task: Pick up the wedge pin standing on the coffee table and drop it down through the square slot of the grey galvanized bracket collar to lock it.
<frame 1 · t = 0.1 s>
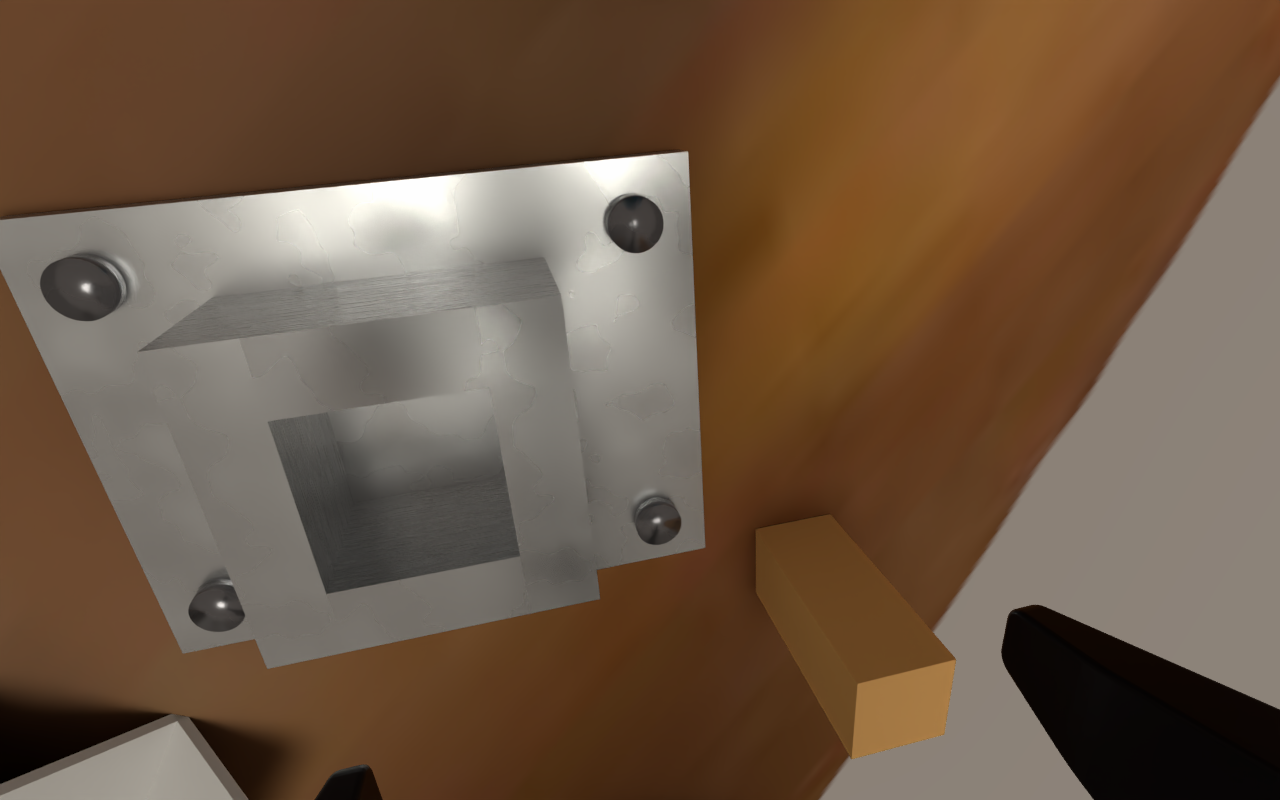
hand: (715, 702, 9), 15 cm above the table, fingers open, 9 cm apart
wedge pin: (792, 553, 28), on the table
bracket collar: (420, 406, 22), on the table
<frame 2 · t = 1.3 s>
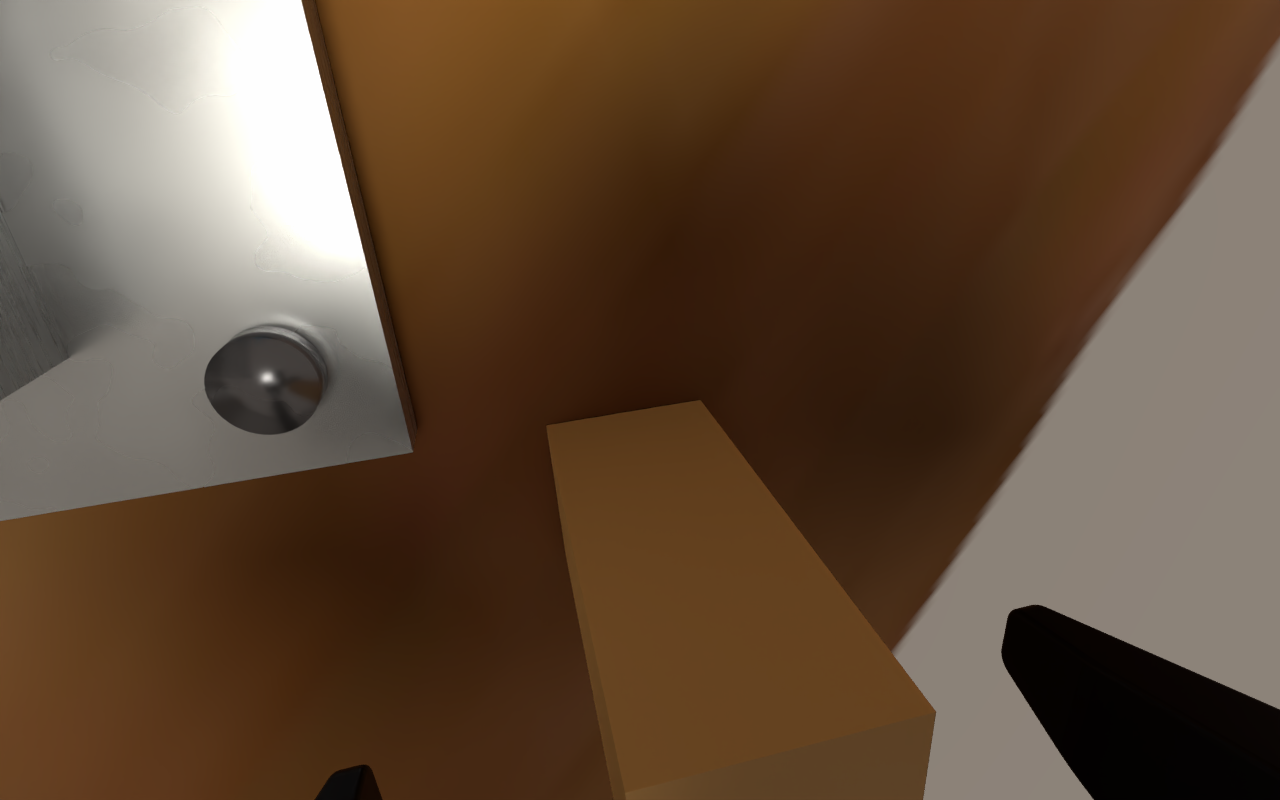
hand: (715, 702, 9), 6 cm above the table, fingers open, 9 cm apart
wedge pin: (631, 479, 14), on the table
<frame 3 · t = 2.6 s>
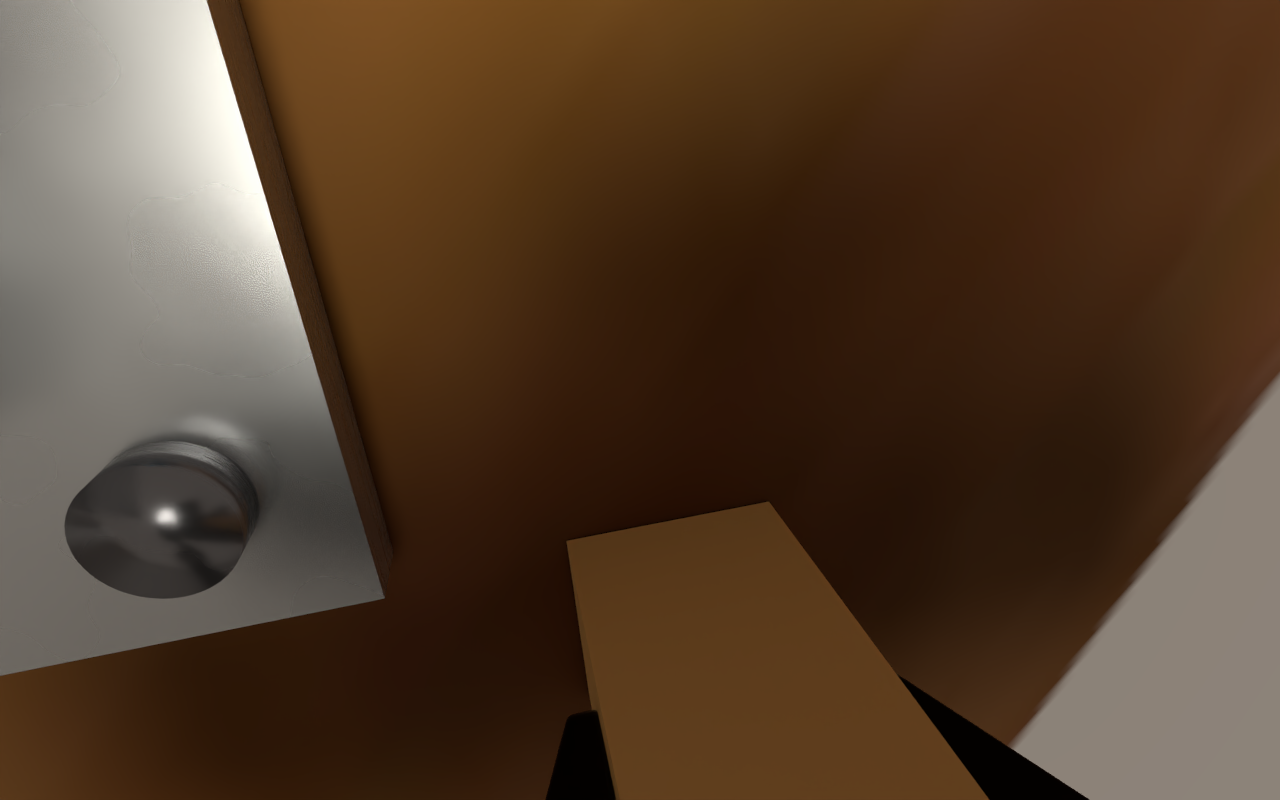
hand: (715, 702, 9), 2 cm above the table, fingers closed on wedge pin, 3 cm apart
wedge pin: (675, 602, 11), on the table, touching gripper
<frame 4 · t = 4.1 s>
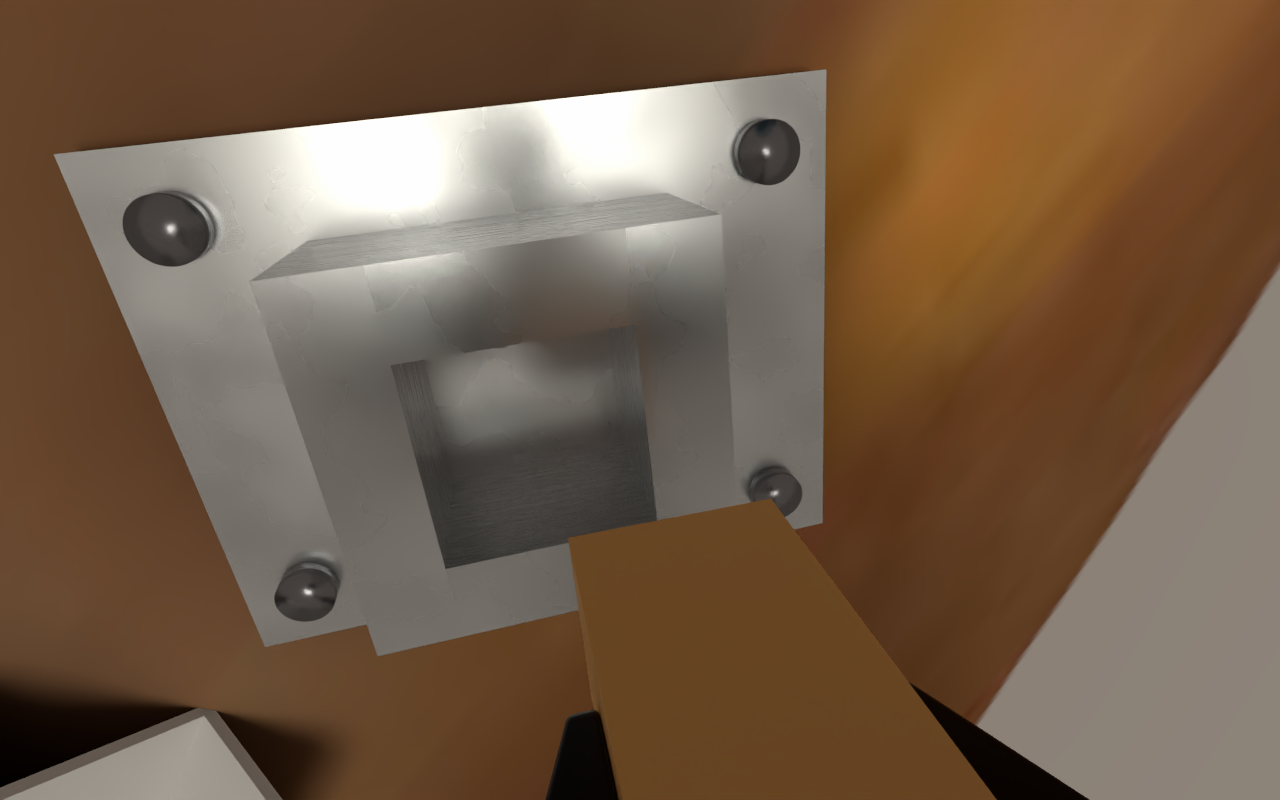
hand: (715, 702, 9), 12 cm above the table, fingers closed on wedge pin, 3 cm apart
wedge pin: (677, 600, 11), point 10 cm above the table, touching gripper
bracket collar: (522, 368, 20), on the table
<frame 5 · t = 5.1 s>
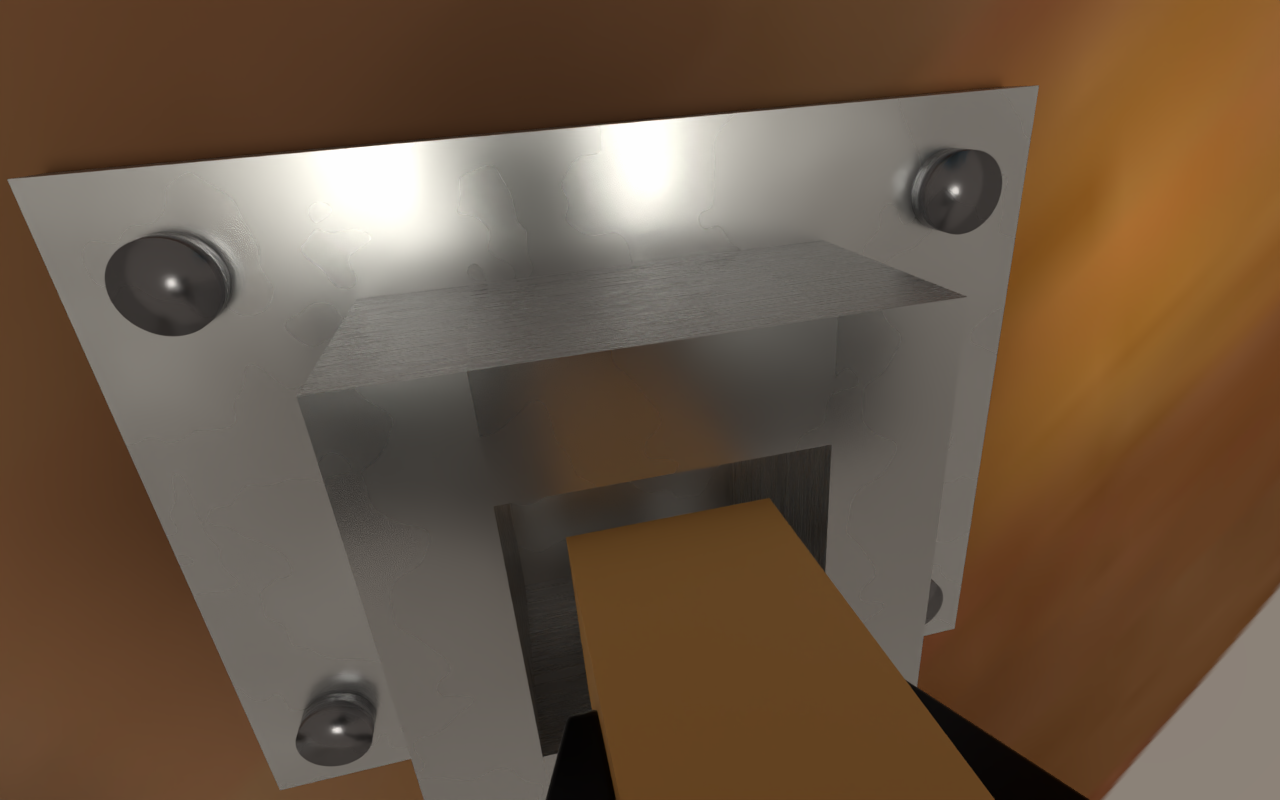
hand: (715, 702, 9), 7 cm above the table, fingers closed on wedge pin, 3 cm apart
wedge pin: (675, 599, 11), point 5 cm above the table, touching gripper
bracket collar: (614, 450, 16), on the table
when the fingers open (6 cm above the table, at t = 5.9 s): wedge pin drops 3 cm, resting on bracket collar.
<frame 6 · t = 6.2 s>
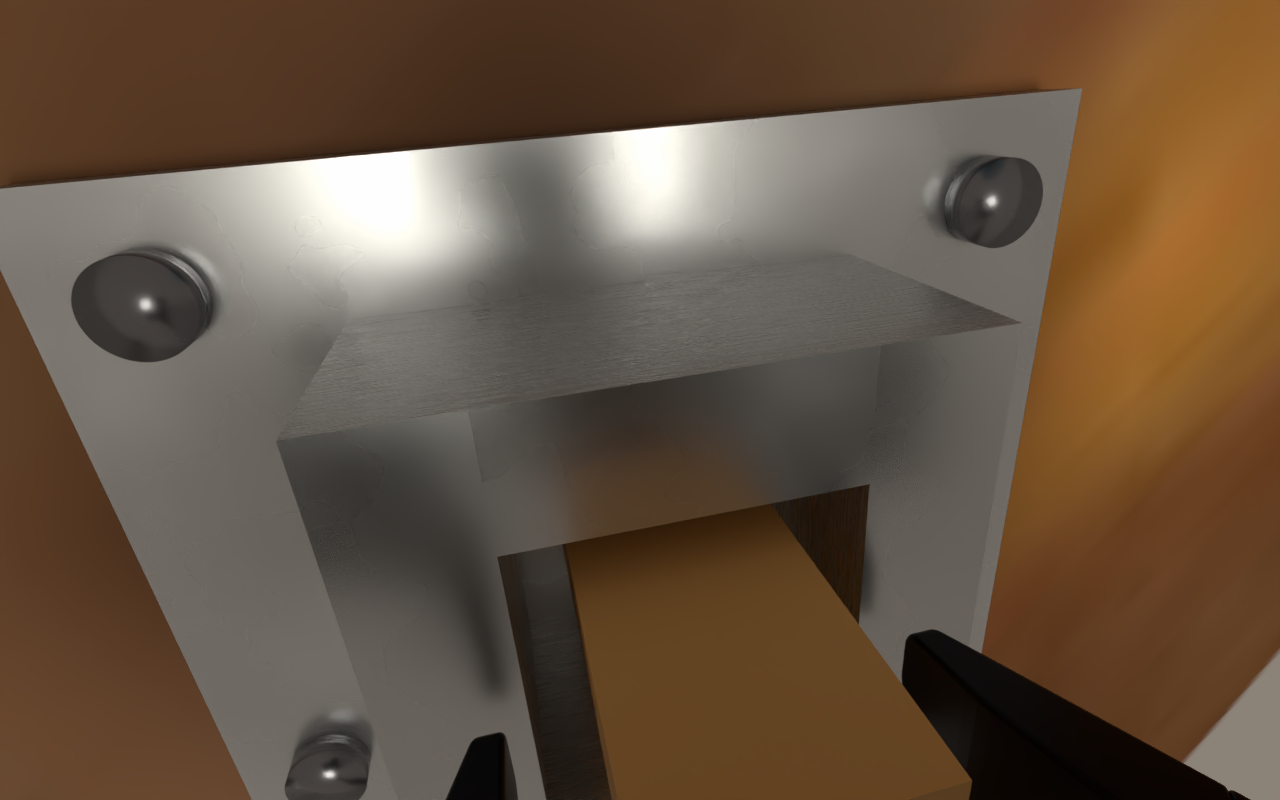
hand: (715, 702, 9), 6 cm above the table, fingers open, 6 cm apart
wedge pin: (635, 499, 14), point 1 cm above the table, touching bracket collar
bracket collar: (624, 476, 15), on the table
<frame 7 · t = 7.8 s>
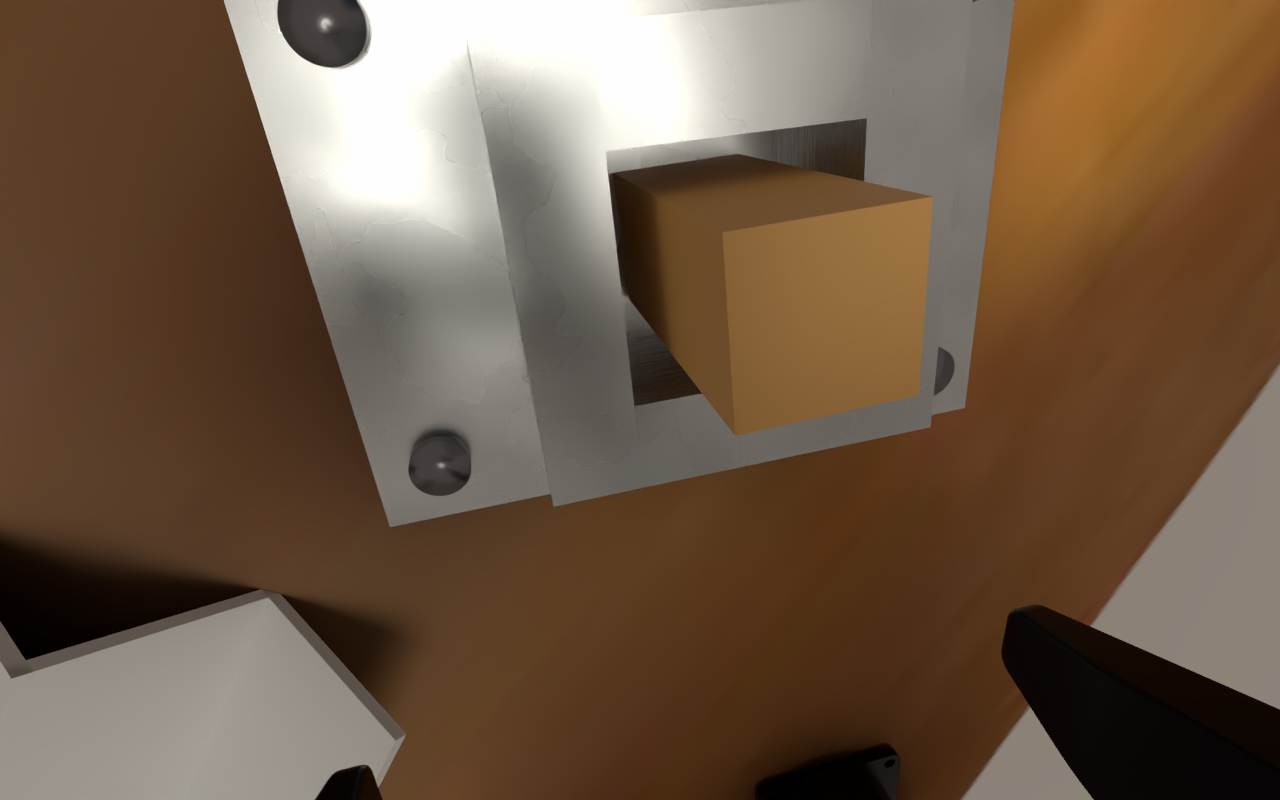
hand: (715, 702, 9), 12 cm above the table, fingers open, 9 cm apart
wedge pin: (681, 228, 17), point 1 cm above the table, touching bracket collar
bracket collar: (670, 222, 18), on the table
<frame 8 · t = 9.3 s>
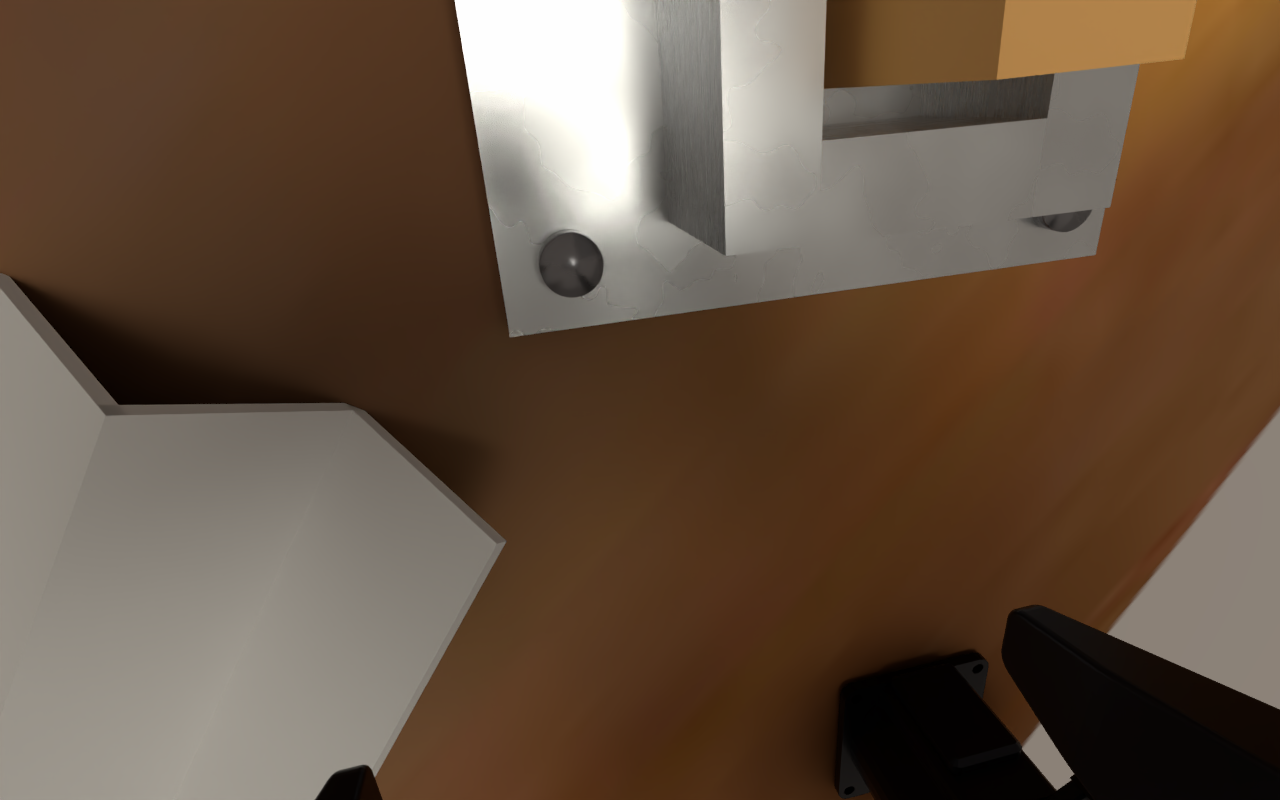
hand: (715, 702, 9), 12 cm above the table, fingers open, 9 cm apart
z bracket: (141, 704, 21), on the table
wedge pin: (836, 12, 16), point 1 cm above the table, touching bracket collar
bracket collar: (817, 18, 17), on the table
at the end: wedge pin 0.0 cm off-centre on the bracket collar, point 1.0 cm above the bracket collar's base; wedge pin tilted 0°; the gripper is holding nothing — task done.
